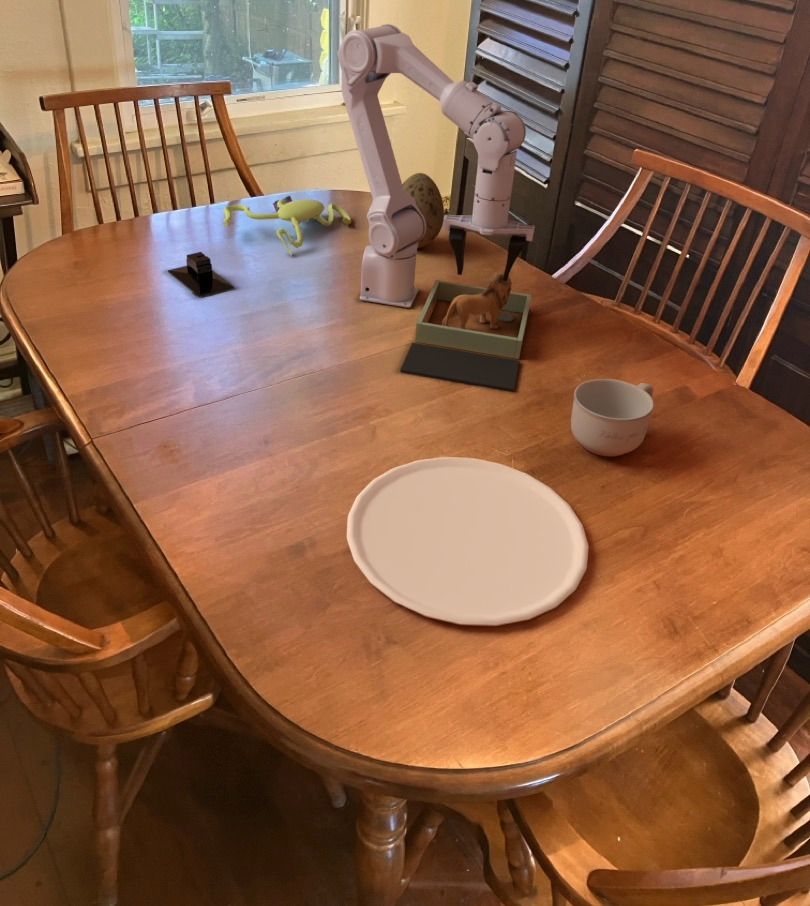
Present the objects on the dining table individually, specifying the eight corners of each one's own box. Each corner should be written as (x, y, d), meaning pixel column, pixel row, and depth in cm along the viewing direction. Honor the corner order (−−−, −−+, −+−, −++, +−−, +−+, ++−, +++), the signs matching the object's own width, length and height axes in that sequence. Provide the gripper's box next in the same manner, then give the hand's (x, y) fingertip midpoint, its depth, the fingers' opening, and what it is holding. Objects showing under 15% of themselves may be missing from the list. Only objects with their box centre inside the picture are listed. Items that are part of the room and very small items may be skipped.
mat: (400, 372, 126) (400, 369, 126) (412, 345, 133) (412, 342, 133) (513, 391, 124) (513, 389, 124) (519, 363, 131) (519, 360, 131)
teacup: (595, 474, 109) (608, 426, 104) (549, 430, 116) (559, 384, 111) (672, 450, 114) (688, 403, 110) (623, 410, 122) (636, 365, 117)
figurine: (210, 236, 163) (208, 209, 160) (292, 201, 182) (292, 176, 178) (282, 261, 156) (281, 234, 152) (360, 222, 174) (360, 197, 171)
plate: (404, 663, 82) (405, 655, 81) (313, 488, 102) (313, 481, 102) (636, 590, 92) (639, 583, 91) (511, 445, 113) (512, 438, 112)
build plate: (234, 289, 145) (233, 265, 143) (198, 299, 142) (195, 274, 139) (201, 263, 153) (199, 240, 150) (166, 272, 149) (163, 248, 146)
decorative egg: (430, 260, 161) (437, 186, 152) (380, 250, 164) (384, 176, 154) (447, 242, 169) (454, 170, 160) (400, 232, 172) (404, 161, 163)
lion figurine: (492, 311, 145) (499, 264, 140) (513, 323, 142) (521, 276, 137) (431, 332, 137) (436, 284, 132) (452, 345, 134) (458, 296, 129)
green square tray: (414, 341, 134) (416, 323, 132) (434, 297, 148) (435, 279, 146) (518, 359, 132) (522, 340, 130) (528, 312, 146) (531, 294, 144)
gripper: (443, 197, 124) (436, 279, 132) (537, 209, 122) (524, 291, 130) (450, 183, 129) (442, 262, 137) (539, 194, 128) (527, 273, 136)
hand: (482, 275), depth 134 cm, fingers open, 7 cm apart
